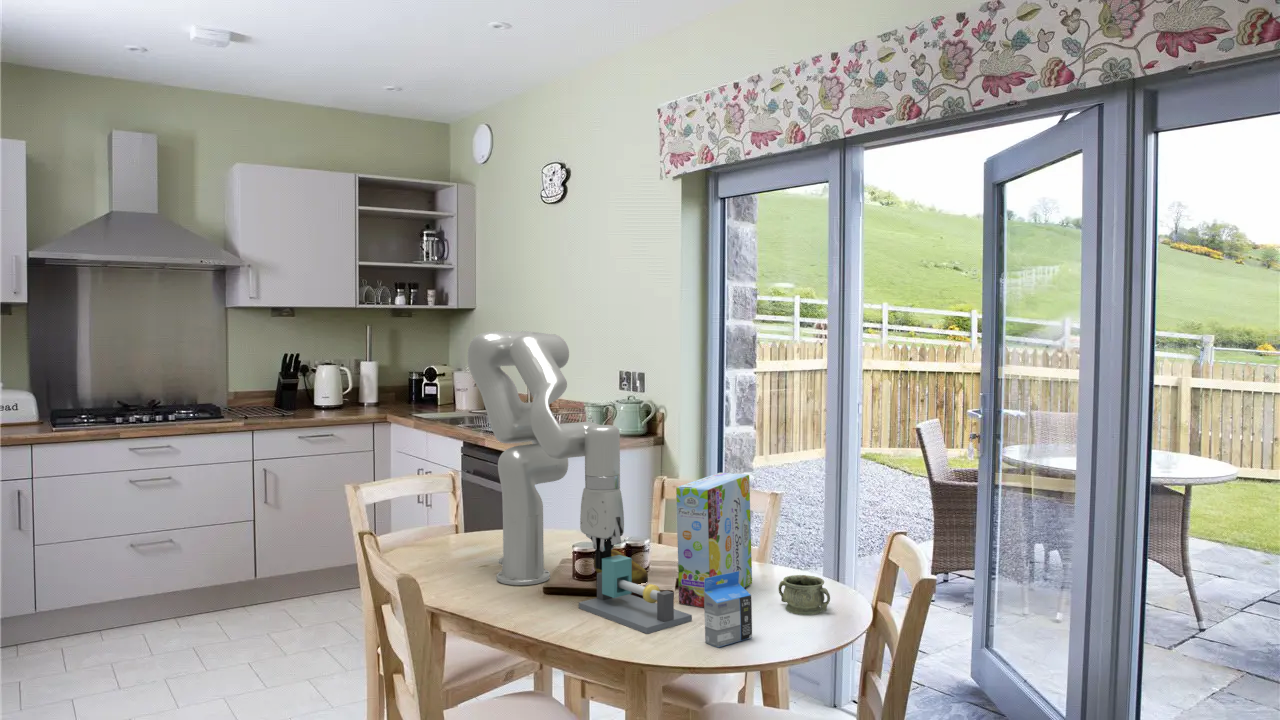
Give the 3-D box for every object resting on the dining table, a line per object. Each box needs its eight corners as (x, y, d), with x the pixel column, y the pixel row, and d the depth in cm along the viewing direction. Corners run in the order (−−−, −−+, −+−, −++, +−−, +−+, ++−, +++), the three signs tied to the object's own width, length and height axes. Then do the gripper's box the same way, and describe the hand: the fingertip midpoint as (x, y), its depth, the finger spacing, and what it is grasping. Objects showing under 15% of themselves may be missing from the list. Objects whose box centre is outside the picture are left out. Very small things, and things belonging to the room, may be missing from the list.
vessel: (768, 609, 190) (768, 579, 190) (788, 599, 197) (788, 571, 197) (820, 620, 183) (820, 589, 182) (839, 609, 190) (839, 580, 189)
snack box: (719, 580, 213) (719, 471, 212) (753, 585, 208) (753, 474, 207) (674, 604, 194) (674, 484, 193) (711, 610, 190) (711, 488, 189)
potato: (625, 595, 200) (625, 560, 200) (587, 584, 209) (587, 550, 209) (652, 588, 206) (652, 553, 206) (614, 577, 215) (614, 544, 215)
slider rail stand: (578, 608, 191) (578, 573, 191) (622, 597, 199) (622, 564, 199) (647, 633, 175) (646, 596, 174) (691, 620, 182) (691, 584, 182)
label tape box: (717, 648, 166) (717, 582, 166) (703, 642, 170) (703, 577, 169) (752, 639, 172) (752, 574, 171) (738, 633, 175) (738, 570, 174)
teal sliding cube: (602, 593, 191) (601, 558, 191) (619, 589, 194) (619, 554, 194) (614, 597, 188) (613, 562, 188) (631, 593, 191) (631, 558, 191)
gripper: (567, 481, 197) (568, 564, 197) (610, 489, 186) (611, 578, 186) (594, 477, 202) (595, 559, 202) (638, 485, 191) (639, 571, 191)
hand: (603, 567), depth 194 cm, fingers closed
